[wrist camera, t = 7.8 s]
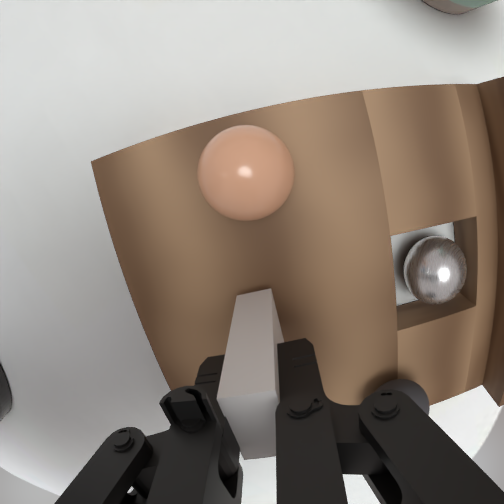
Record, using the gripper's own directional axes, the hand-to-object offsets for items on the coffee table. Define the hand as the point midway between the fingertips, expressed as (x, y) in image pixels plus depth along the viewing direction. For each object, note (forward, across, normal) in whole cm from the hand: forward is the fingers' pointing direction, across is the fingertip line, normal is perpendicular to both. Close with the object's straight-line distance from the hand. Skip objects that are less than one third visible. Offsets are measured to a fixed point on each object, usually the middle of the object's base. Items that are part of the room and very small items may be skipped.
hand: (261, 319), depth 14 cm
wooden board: (+3, +4, 0) cm, 5 cm away
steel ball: (+2, +9, 0) cm, 9 cm away
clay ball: (-1, +1, +6) cm, 6 cm away
